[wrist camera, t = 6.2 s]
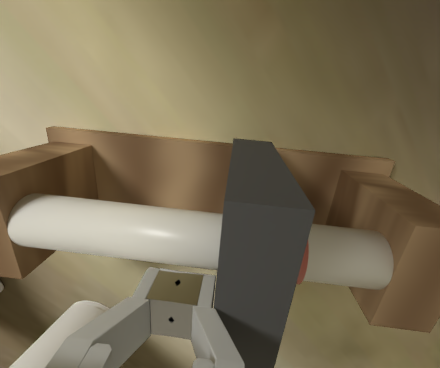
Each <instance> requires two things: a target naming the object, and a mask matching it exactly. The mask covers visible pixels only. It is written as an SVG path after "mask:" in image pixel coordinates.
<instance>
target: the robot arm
mask: <svg viewBox="0 0 440 368" xmlns="http://www.w3.org/2000/svg"><path fill="white" fill-rule="evenodd" d="M215 281H216V276H215V275H208V274H199V273H191V272H182V271H175V270H169V269H162V268H161V269H160V268H154V267H149V268H148V269H147V270H146V272H145V273H144V275H143V277H142V279H141V281H140V283H139V285H138V286H137V288H136V290H135V292H134V294H133V296H132V297H127V298H125V299H124V300H122V301H121V302H119V303H118V304H116V305H115V306H113V307H112V308H110V309H109V310H107V311H106V312H104V313H103V314H101V315H100V316H98V317H97V318H95V319H94V320H92V321H91V322H89V323H88V324H86V325H84V326H83V327H81V328H80V329H78V330H77V331H75V332H74V333H72V334H71V335H69V336H68V337H67V338H66V339H65V340H64V342H63V343H62V345H61V346H60V347H59V349H58V350H57V352H56V353H55V354H54V356H53V357H52V358H51V360H50V361H49V363H48V364H47V365H46V367H45V368H119V367H120V366H121V365H122V364H123V363H124V362H125V361H126V360H127V359H128V358H129V357H130V356H131V355H132V354H133V353H134V352H135V351H136V350H137V349H138V348H139V347H140V346H141V345H142V344H143V343H144V342H145V341H146V340H147V339H148V338H149V337H150V336H151V334H155V335H164V336H172V337H178V338H183V339H189V340H191V342H192V346H193V349H194V352H195V355H196V358H197V359H196V360H195V361H194V362H193V367H192V368H245V364H244V362H243V360H242V358H241V356H240V354H239V352H238V351H237V349H236V347H235V345H234V343H233V341H232V339H231V337H230V336H229V334H228V332H227V330H226V328H225V326H224V324H223V322H222V321H221V319H220V317H219V315H218V313H217V311H216V309H214V308H213V300H214V290H215Z"/></svg>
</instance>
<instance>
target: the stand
mask: <svg viewBox="0 0 440 368" xmlns="http://www.w3.org/2000/svg"><path fill="white" fill-rule="evenodd" d="M46 131H47V136H48V141H49V143H46V144H42V145H39V146H35V147H31V148H27V149H23V150H19V151H15V152H11V153H7V154H3V155H0V276H1V277H8V278H16V279H23V278H25V277H26V276H27V275H28V274H29V273H30V272H32V271H33V270H34V269H35V268H36V267H38V266H39V265H40V264H41V263H42V262H43V261H45V260H46V259H47V258H48V257H49V256H50V255H52V254H53V253H54V252H55V251H56V250H50V249H41V248H33V247H25V246H19V245H17V244H15V243H14V242H13V241H12V240H11V239H10V237H9V235H8V231H7V222H8V218H9V215H10V213H11V211H12V209H13V207H14V206H15V205H16V203H17V202H18V201H19V200H21V199H22V198H23V197H25V196H27V195H29V194H33V193H40V194H49V195H58V196H67V197H76V198H85V199H94V200H103V201H112V202H121V203H130V204H139V205H148V206H157V207H166V208H175V209H184V210H193V211H202V212H211V213H220V214H223V207H224V198H225V192H226V185H227V179H228V172H229V166H230V159H231V153H232V146H233V144H231V143H220V142H210V141H200V140H189V139H179V138H168V137H158V136H148V135H137V134H127V133H116V132H106V131H96V130H85V129H75V128H64V127H48V128H46ZM276 150H277V151H278V153H279V155H280V156H281V158H282V159H283V161H284V162H285V164H286V165H287V167H288V169H289V170H290V172H291V173H292V175H293V176H294V178H295V179H296V181H297V183H298V184H299V186H300V187H301V189H302V190H303V192H304V193H305V195H306V197H307V198H308V200H309V201H310V203H311V204H312V206H313V207H314V209H315V210H316V211H315V215H314V219H313V222H312V224H319V225H328V226H337V227H346V228H355V229H364V230H373V231H377V232H379V233H381V234H382V235H383V236H384V237H385V238H386V240H387V241H388V243H389V245H390V248H391V251H392V254H393V262H394V268H393V275H392V278H391V281H390V282H389V284H388V285H387V286H386V287H385V288H384V289H381V290H374V289H365V288H357V287H349V288H350V290H351V292H352V294H353V295H354V297H355V299H356V301H357V302H358V304H359V306H360V308H361V310H362V311H363V313H364V315H365V317H366V319H367V320H368V322H369V324H370V325H375V326H383V327H390V328H398V329H406V330H413V331H421V332H428V333H430V332H431V330H432V329H433V327H434V325H435V324H436V322H437V320H438V319H439V317H440V206H439V205H438V204H436V203H434V202H432V201H430V200H429V199H427V198H425V197H423V196H422V195H420V194H418V193H416V192H414V191H413V190H411V189H409V188H407V187H405V186H404V185H402V184H400V183H398V182H397V181H395V180H393V179H391V178H389V177H390V174H391V172H392V169H393V166H394V164H395V161H393V160H391V159H387V158H377V157H366V156H356V155H345V154H335V153H325V152H314V151H304V150H293V149H283V148H276Z"/></svg>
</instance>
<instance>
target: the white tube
mask: <svg viewBox="0 0 440 368" xmlns="http://www.w3.org/2000/svg"><path fill="white" fill-rule="evenodd" d="M222 217H223V214H220V213H211V212H202V211H193V210H184V209H175V208H166V207H157V206H148V205H139V204H130V203H121V202H112V201H103V200H94V199H85V198H76V197H67V196H58V195H49V194H40V193H33V194H29V195H27V196H25V197H23V198H22V199H21V200H19V201H18V202H17V203H16V205H15V206H14V207H13V209H12V211H11V213H10V215H9V218H8V222H7V231H8V235H9V237H10V239H11V240H12V241H13V242H14V243H15V244H17V245H19V246H25V247H33V248H41V249H50V250H58V251H66V252H74V253H82V254H90V255H98V256H106V257H114V258H122V259H131V260H139V261H147V262H155V263H163V264H171V265H179V266H187V267H195V268H203V269H212V270H218V259H219V249H220V238H221V228H222ZM393 268H394V262H393V254H392V251H391V248H390V245H389V243H388V241H387V240H386V238H385V237H384V236H383V235H382V234H381V233H379V232H377V231H373V230H364V229H355V228H346V227H337V226H328V225H319V224H312V226H311V230H310V234H309V237H308V241H307V245H306V249H305V253H304V256H303V260H302V264H301V268H300V271H299V275H298V279H297V283H296V284H300V283H301V282H302V281H309V282H317V283H325V284H333V285H341V286H349V287H357V288H365V289H374V290H381V289H384V288H385V287H386V286H387V285H388V284H389V282H390V281H391V278H392V275H393Z"/></svg>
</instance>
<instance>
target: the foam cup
mask: <svg viewBox="0 0 440 368" xmlns="http://www.w3.org/2000/svg"><path fill="white" fill-rule="evenodd" d="M109 309H110V308H108V307H106V306H104V305H102V304H100V303H98V302H93V301H87V300H85V301H80V302H75V303H74V304H73V305H72V306H71V307H70V308H69V309H68V310H67V311H66V312H65V313H63V314H62V315H61V316H60V317H59V318H58V319H57V320H56V321H55V322H54V323H53V324H52V325H51V326H50V327H49V328H48V329H47V330H46V331H45V332H44V333H43V334H42V335H41V336H40V337H39V338H38V339H37V340H36V341H35V342H34V343H33V344H32V345H31V346H30V347H29V348H28V349H27V350H26V351H25V352H24V353H23V354H22V355H21V356H20V357H19V358H18V359H17V360H16V361H15V362H14V363H13V364H12V365H11V366H10V367H9V368H45V367H46V365H47V364H48V363H49V361H50V360H51V358H52V357H53V356H54V354H55V353H56V352H57V350H58V349H59V347H60V346H61V345H62V343H63V342H64V340H65V339H66V338H67V337H68V336H69V335H71V334H72V333H74V332H75V331H77V330H78V329H80V328H81V327H83V326H84V325H86V324H88V323H89V322H91V321H92V320H94V319H95V318H97V317H98V316H100V315H101V314H103V313H104V312H106V311H107V310H109Z"/></svg>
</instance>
